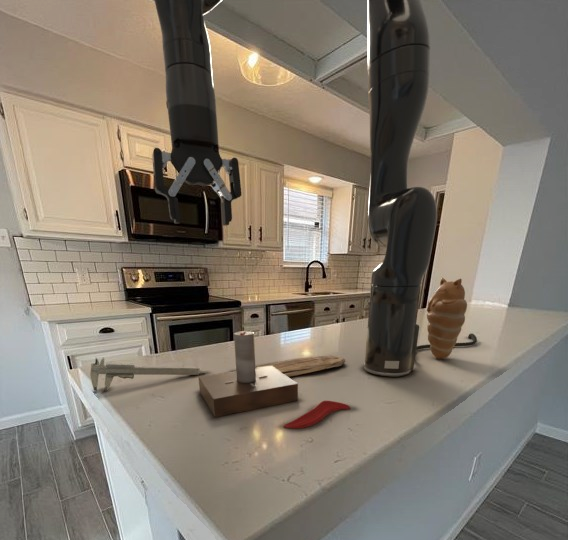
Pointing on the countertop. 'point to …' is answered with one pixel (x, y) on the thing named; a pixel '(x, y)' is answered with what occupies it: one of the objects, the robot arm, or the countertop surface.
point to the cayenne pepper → (316, 414)
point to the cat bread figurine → (445, 317)
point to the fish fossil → (306, 364)
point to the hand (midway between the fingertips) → (202, 224)
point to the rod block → (247, 391)
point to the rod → (245, 356)
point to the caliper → (134, 371)
